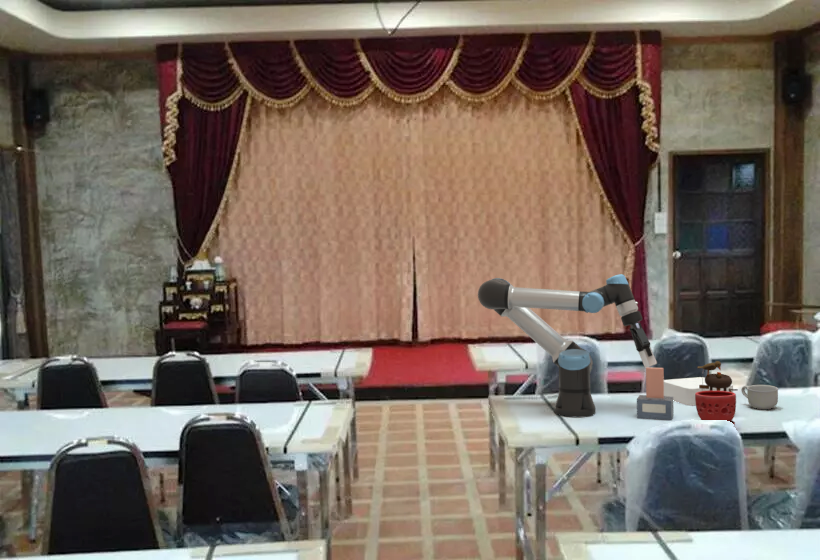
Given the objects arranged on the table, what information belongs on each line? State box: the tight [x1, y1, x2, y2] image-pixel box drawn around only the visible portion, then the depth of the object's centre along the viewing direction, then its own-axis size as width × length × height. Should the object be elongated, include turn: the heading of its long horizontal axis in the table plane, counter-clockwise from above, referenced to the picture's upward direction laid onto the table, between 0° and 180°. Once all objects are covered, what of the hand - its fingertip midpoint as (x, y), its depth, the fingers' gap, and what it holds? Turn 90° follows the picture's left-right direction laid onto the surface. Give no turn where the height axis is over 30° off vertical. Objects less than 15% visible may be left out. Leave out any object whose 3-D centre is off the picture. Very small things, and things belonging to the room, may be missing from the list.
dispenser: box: [636, 394, 675, 421], centre depth 285 cm, size 12×8×7 cm
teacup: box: [740, 384, 779, 410], centre depth 297 cm, size 14×11×8 cm
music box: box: [696, 360, 739, 407], centre depth 287 cm, size 15×11×20 cm
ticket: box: [645, 367, 665, 398], centre depth 285 cm, size 6×2×16 cm, turn 66°
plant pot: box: [695, 391, 737, 426], centre depth 268 cm, size 13×13×12 cm
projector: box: [664, 376, 734, 407], centre depth 315 cm, size 21×22×7 cm
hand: (651, 365), depth 295 cm, fingers open, 13 cm apart
